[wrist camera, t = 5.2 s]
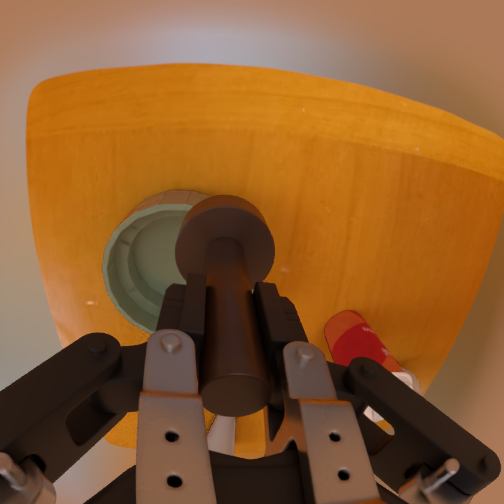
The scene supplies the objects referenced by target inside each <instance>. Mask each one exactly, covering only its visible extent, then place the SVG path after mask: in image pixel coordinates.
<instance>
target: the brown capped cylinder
mask: <svg viewBox="0 0 504 504" xmlns="http://www.w3.org/2000/svg"><path fill="white" fill-rule="evenodd" d="M274 257H275V246H274V241H273V237H272V235H271V232H270V230H269V228H268V226H267V224H266V222H265V219H264V218H263V216H262V214H261V213H260V211H259V210H258V209H257V208H256V207H255V206H254V205H253V204H251V203H250V202H248V201H246V200H245V199H242V198H240V197H237V196H232V195H217V196H212V197H209V198H206V199H204V200H202V201H200V202H199V203H197V204H196V205H195V206H193V207H192V208H191V209H190V210H189V211H188V213H187V214H186V216H185V218H184V220H183V222H182V225H181V227H180V230H179V233H178V236H177V240H176V243H175V261H176V265H177V267H178V270H179V272H180V274H181V275H182V277H183V278H184V279H185V281H186V282H187V277H188V272H189V273H196V274H203V275H207V277H206V298H205V323H204V338H203V345H202V352H201V356H200V358H199V372H198V394H199V395H201V396H202V401H203V407H204V408H205V409H206V410H208V411H209V412H211V413H213V414H216V415H220V416H225V417H241V416H247V415H250V414H253V413H256V412H258V411H260V410H261V409H263V408H264V407H265V406H266V405H267V404H268V403H269V402H270V400H271V397H272V386H271V381H270V376H269V372H268V367H267V362H266V357H265V352H264V348H263V343H262V338H261V333H260V328H259V323H258V318H257V313H256V309H255V304H254V299H253V294H252V290H253V289H254V286H255V283H256V282H262V281H263V280H264V279H265V278H266V276H267V275H268V273H269V272H270V270H271V268H272V265H273V262H274Z"/></svg>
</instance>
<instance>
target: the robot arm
mask: <svg viewBox="0 0 504 504" xmlns="http://www.w3.org/2000/svg"><path fill="white" fill-rule="evenodd" d="M206 277H207V275H203V274H196V273H189V272H188V277H187V283H186V285H183V284H176V283H173V284H172V285H170V286H169V287H168V288H167V289H166V291H165V295H164V299H163V302H162V306H161V310H160V314H159V318H158V322H157V327H156V331H155V332H154V333H153V334H151V335H150V337H149V338H148V341H147V342H145V343H143V344H140V345H134V346H120V343H119V342H118V340H117V339H116V338H114V337H113V336H111V335H108V334H105V333H90V334H87V335H84V336H83V337H81V338H79V339H78V340H76V341H75V342H73V343H72V344H70V345H69V346H67V347H66V348H64V349H63V350H61V351H60V352H58V353H57V354H55V355H54V356H52V357H51V358H49V359H48V360H46V361H45V362H43V363H42V364H40V365H39V366H37V367H36V368H34V369H33V370H31V371H30V372H28V373H27V374H25V375H24V376H22V377H21V378H20V379H18V380H16V381H15V382H13V383H12V384H11V385H9V386H8V387H6V388H5V389H3V390H2V391H0V504H55V502H56V491H55V488H54V486H53V483H54V482H55V481H56V480H57V479H58V478H59V477H60V476H62V475H63V474H64V473H65V472H66V471H67V470H68V469H69V468H70V467H71V466H72V465H74V464H75V463H76V462H77V461H78V460H79V459H80V458H81V457H82V456H83V455H84V454H85V453H87V452H88V451H89V450H90V449H91V448H92V447H93V446H94V445H95V444H96V443H97V442H98V441H99V440H100V439H101V438H102V437H104V436H105V435H106V434H107V433H108V432H109V431H110V430H111V429H112V428H113V427H114V426H115V425H116V424H117V423H118V422H119V421H120V420H121V419H122V418H123V417H124V416H125V415H126V414H127V412H135V411H138V426H137V448H136V450H137V451H136V465H134V466H132V467H131V468H129V469H127V471H125V472H123V473H122V474H121V475H120V476H118V477H117V478H116V479H115V480H113V481H112V482H111V483H110V484H108V485H107V486H106V487H105V488H103V489H102V490H101V491H99V492H98V493H97V494H96V495H94V496H93V497H91V498H90V499H89V500H87V501H86V502H85V503H83V504H469V503H470V501H471V500H472V498H473V496H474V495H475V494H477V493H478V492H479V491H481V490H482V489H483V488H485V487H486V486H487V485H489V484H490V483H491V482H493V481H494V480H495V479H496V478H497V477H498V476H499V474H500V471H501V464H500V461H499V458H498V456H497V455H496V454H495V452H493V451H492V450H491V449H489V448H488V447H487V446H485V445H484V444H483V443H482V442H480V441H479V440H478V439H476V438H475V437H474V436H473V435H471V434H470V433H469V432H467V431H466V430H465V429H463V428H462V427H461V426H459V425H458V424H457V423H456V422H454V421H453V420H452V419H450V418H449V417H448V416H446V415H445V414H444V413H443V412H441V411H440V410H439V409H437V408H436V407H435V406H433V405H432V404H431V403H430V402H428V401H427V400H426V399H424V398H423V397H422V396H421V395H419V394H418V393H417V392H415V391H414V390H413V389H412V388H410V387H409V386H408V385H406V384H405V383H404V382H403V381H401V380H400V379H399V378H397V377H396V376H395V375H394V374H392V373H391V372H390V371H388V370H387V369H386V368H385V367H383V366H382V365H381V364H379V363H378V362H377V361H375V360H373V359H371V358H367V357H356V358H354V359H352V360H351V361H350V363H349V365H348V366H344V365H340V364H336V363H332V362H328V361H326V358H325V356H324V354H323V352H322V351H321V350H320V349H319V348H318V347H316V346H315V345H313V344H310V343H309V342H308V339H307V336H306V334H305V331H304V329H303V326H302V324H301V322H300V319H299V316H298V315H297V311H296V308H295V306H294V304H293V303H292V302H291V301H290V300H289V299H288V298H287V297H280V296H279V293H278V291H277V288H276V285H275V284H273V283H265V282H256V283H255V286H254V289H253V299H254V304H255V309H256V313H257V318H258V323H259V328H260V333H261V338H262V343H263V348H264V352H265V357H266V362H267V367H268V372H269V376H270V381H271V386H272V397H271V400H270V402H269V403H268V404H267V405H266V406H265V407H264V408H263V410H264V426H265V441H266V450H265V455H264V457H262V458H258V459H244V458H240V457H235V456H231V455H227V454H223V453H219V452H215V451H211V450H208V442H207V435H206V427H205V418H204V409H203V401H202V396H201V395H199V394H198V384H197V382H198V372H199V358H200V356H201V352H202V345H203V338H204V323H205V298H206ZM368 406H369V407H370V408H372V409H373V410H374V411H375V412H376V413H377V414H379V415H380V416H381V417H382V418H383V419H385V420H386V421H387V422H388V423H389V424H391V425H392V427H393V428H394V431H395V434H394V435H389V434H387V433H386V432H385V431H383V430H382V429H381V428H380V427H379V426H377V425H376V424H375V423H374V422H373V421H372V420H371V419H369V418H368V417H367V416H366V415H365V414H364V412H365V410H366V409H367V408H368ZM373 473H374V474H375V475H376V476H377V477H378V478H380V479H381V480H382V481H383V482H384V483H385V484H387V485H388V486H389V487H390V488H391V489H393V490H394V491H395V492H396V493H397V494H399V497H398V496H397V495H395V494H394V493H392V492H391V491H389V490H387V489H386V488H385V487H383V486H382V485H380V484H378V483H377V482H376V481H375V478H374V475H373Z"/></svg>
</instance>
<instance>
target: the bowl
mask: <svg viewBox="0 0 504 504" xmlns="http://www.w3.org/2000/svg"><path fill="white" fill-rule="evenodd" d="M209 197H211V196H208V195H204V194H201V193H198V192H195V191H191V190H169V191H165V192H162V193H159V194H157V195H154V196H151V197H148V198H146V199H145V200H144V201H143V202H141V203H140V204H139V205H138V206H136V207H135V208H134V209H133V210H131V211H130V213H129V214H128V215H127V216H126V217H125V218H124V219H123V221H122V222H121V223H120V224H119V225H118V227H117V228H116V229H115V231H114V233H113V234H112V236H111V238H110V240H109V241H108V243H107V245H106V247H105V251H104V257H103V264H102V273H103V278H104V283H105V288H106V291H107V293H108V295H109V297H110V299H111V300H112V302H113V304H114V306H115V308H116V309H117V310H118V311H119V312H120V313H121V314H122V315H123V316H124V317H125V318H126V319H127V320H128V321H129V322H130V323H131V324H133V325H134V326H136V327H138V328H139V329H141V330H143V331H145V332H147V333H148V334H153V333H154V332H155V331H156V327H157V322H158V318H159V314H160V310H161V306H162V302H163V299H164V295H165V291H166V289H167V288H168V287H169V286H170V285H172V284H173V283H176V284H183V285H186V283H187V282H186V281H185V279H184V278H183V277H182V275H181V274H180V272H179V270H178V267H177V265H176V261H175V243H176V240H177V236H178V233H179V230H180V227H181V225H182V222H183V220H184V218H185V216H186V214H187V213H188V211H189V210H190V209H191V208H192V207H193V206H195V205H196V204H197V203H199V202H200V201H202V200H204V199H206V198H209ZM252 294H253V290H252Z"/></svg>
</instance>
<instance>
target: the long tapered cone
mask: <svg viewBox="0 0 504 504" xmlns="http://www.w3.org/2000/svg"><path fill="white" fill-rule="evenodd" d="M235 428H236V419H235V417H225V416H220V415H217V416H216V418H215V420H214V422H213V424H212V426H211V428H210V430H209V433H208V435H207V442H208V450H211V451H215V452H219V453H223V454H227V455H231V456H234V442H235Z"/></svg>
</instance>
